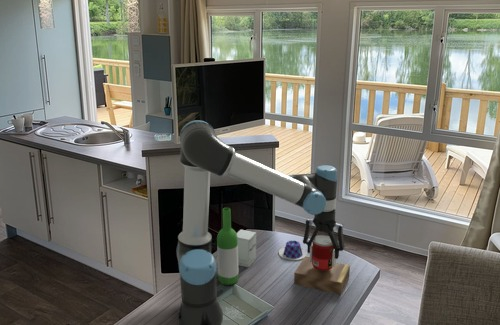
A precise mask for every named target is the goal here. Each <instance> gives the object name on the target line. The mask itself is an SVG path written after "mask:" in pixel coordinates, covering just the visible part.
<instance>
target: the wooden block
mask: <svg viewBox="0 0 500 325" xmlns="http://www.w3.org/2000/svg"><path fill="white" fill-rule="evenodd" d="M350 271H351V265H350V264H346V263H345V264H343V263H339V262H336V264H335V266H334V267H332V268H331V269H330V270H327V271H321V270H317V269H315V268H314V267H313V265H312V262H310V256H307V255H306V256H305V257H304V258H302V259H301V262H300V263H299V265H298V267H296V269H295V271H294V273H293V274H294V275H293V277H294V279H293V281H294V282H293V285H296V286H300V287H301V286H302V287H305V288H309V289H314V290H318V291H322V292H326V293H330V294H335V295H338V296H342V294H343V292H344V290H345V287H346V286H347V284H348V281H349V279H350V273H351V272H350Z"/></svg>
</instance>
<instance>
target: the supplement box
mask: <svg viewBox="0 0 500 325" xmlns="http://www.w3.org/2000/svg"><path fill="white" fill-rule="evenodd" d="M236 233H237V237H238V266H240V267H245V268H250V267H251V265H252V264H253V263H254V262H255V261H256V260H257V232H256V231H251V230H244V229H239V230H238V231H237V232H236Z"/></svg>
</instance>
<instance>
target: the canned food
mask: <svg viewBox="0 0 500 325" xmlns="http://www.w3.org/2000/svg"><path fill="white" fill-rule="evenodd" d="M312 244H313V248H312V265H313V267H314V268H315V269H317V270H321V271H327V270H330V269H331V268H332V256H333V250H334V247H333V243H332V242H331V239H330V237H329V235H323V234H321V235H316V237H315V238H314V239H313V242H312Z"/></svg>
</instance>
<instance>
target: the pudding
mask: <svg viewBox="0 0 500 325" xmlns="http://www.w3.org/2000/svg"><path fill="white" fill-rule="evenodd" d="M278 255H279V256H280V257H281V258H283V259H286V260H290V261H299V260H303V259H304V257H305V256H306V257H307V256H308V252H307V249H305V248H304V247H302V246H301V244H300V242H299V241H296V240H288V241H287V242H286V243H285V245H284V247H281V248H280V249H279V250H278Z"/></svg>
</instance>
